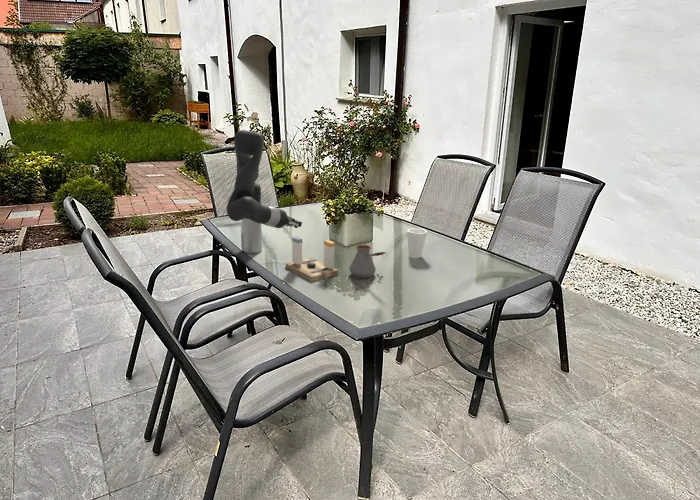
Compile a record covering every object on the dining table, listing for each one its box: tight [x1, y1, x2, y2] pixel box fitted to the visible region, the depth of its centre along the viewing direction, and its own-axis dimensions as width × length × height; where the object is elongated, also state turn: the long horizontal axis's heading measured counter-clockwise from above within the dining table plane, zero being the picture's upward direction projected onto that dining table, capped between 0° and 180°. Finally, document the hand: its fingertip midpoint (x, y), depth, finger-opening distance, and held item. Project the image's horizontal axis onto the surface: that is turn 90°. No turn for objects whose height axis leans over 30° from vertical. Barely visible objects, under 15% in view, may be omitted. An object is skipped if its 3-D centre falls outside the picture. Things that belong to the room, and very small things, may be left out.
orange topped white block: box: [323, 239, 336, 269], centre depth 201 cm, size 2×5×12 cm, turn 40°
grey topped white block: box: [291, 236, 304, 265], centre depth 204 cm, size 2×5×12 cm, turn 40°
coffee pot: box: [348, 244, 388, 279], centre depth 196 cm, size 21×12×15 cm, turn 32°
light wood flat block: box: [285, 257, 339, 282], centre depth 204 cm, size 14×20×3 cm
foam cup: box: [406, 228, 428, 259], centre depth 227 cm, size 10×9×13 cm
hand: (300, 224), depth 193 cm, fingers closed
